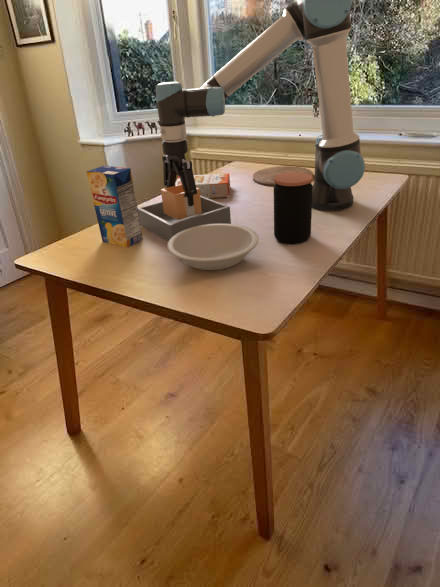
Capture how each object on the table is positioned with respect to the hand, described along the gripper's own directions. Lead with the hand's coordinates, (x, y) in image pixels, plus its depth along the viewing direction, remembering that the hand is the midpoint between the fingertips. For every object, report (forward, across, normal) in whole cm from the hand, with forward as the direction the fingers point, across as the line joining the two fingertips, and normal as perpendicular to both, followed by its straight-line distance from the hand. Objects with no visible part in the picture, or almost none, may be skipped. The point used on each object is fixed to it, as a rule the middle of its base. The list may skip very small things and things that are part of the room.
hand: (182, 211), depth 140 cm
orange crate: (+1, 0, 0) cm, 1 cm away
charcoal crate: (+5, 0, 0) cm, 5 cm away
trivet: (+5, -15, +59) cm, 61 cm away
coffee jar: (+5, +33, +17) cm, 38 cm away
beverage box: (+5, -3, -21) cm, 22 cm away
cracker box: (+1, -17, +32) cm, 36 cm away
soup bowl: (+5, +30, -9) cm, 32 cm away
